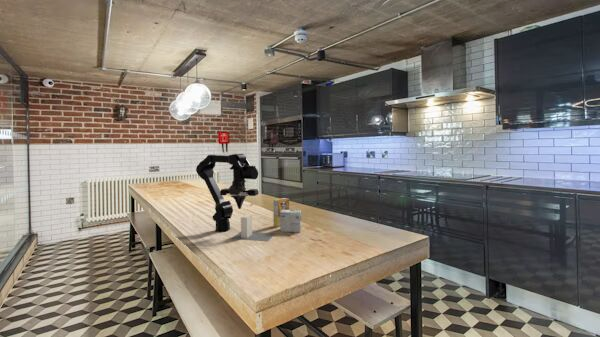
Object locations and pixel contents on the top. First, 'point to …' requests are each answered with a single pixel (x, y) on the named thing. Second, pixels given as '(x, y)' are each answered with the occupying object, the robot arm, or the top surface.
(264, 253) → the top surface
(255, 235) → the rubber mat
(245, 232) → the ivory tile
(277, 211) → the candy box
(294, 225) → the light bulb box
